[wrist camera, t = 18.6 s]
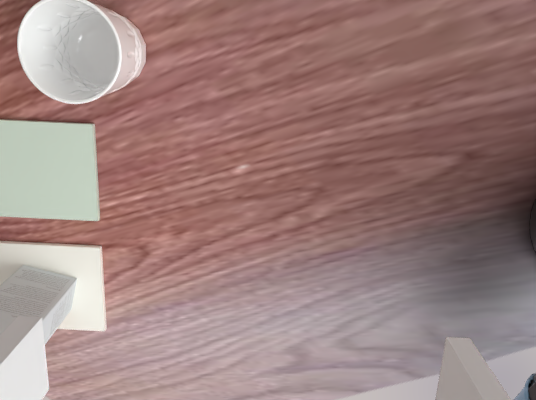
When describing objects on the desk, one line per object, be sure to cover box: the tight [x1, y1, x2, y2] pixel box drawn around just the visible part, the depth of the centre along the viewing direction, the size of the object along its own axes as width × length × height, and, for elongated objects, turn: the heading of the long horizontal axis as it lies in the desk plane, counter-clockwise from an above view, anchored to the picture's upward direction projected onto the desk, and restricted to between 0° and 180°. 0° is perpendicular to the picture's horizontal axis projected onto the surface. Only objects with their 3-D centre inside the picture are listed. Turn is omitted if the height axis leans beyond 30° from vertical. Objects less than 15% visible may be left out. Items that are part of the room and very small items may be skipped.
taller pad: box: [0, 241, 106, 331], centre depth 54 cm, size 12×10×1 cm
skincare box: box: [0, 265, 77, 344], centre depth 48 cm, size 6×4×12 cm
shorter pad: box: [0, 119, 100, 221], centre depth 50 cm, size 12×10×1 cm
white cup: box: [17, 0, 146, 104], centre depth 42 cm, size 8×8×10 cm
